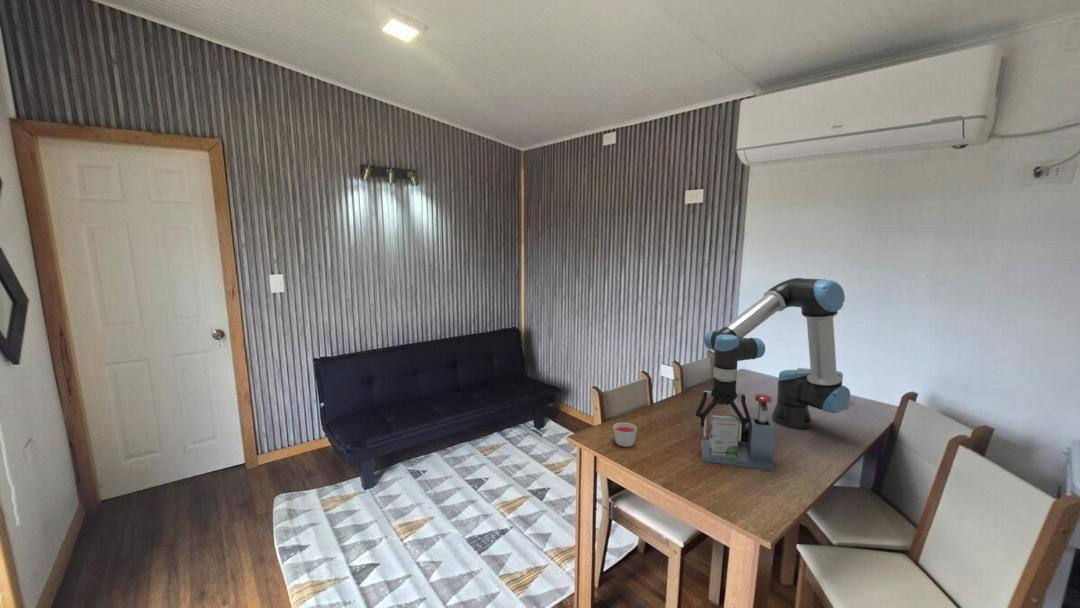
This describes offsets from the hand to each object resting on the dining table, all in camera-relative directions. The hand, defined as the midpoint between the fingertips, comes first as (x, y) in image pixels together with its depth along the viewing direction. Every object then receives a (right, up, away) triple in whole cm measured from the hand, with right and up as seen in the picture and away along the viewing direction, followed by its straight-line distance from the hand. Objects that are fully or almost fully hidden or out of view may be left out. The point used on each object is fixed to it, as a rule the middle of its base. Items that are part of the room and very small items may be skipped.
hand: (721, 437), depth 152 cm
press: (+4, -7, -1) cm, 8 cm away
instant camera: (+73, +1, +59) cm, 94 cm away
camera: (+10, -5, +13) cm, 18 cm away
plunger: (+12, +1, -5) cm, 13 cm away
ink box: (0, -4, 0) cm, 5 cm away
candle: (-33, -6, +11) cm, 35 cm away
